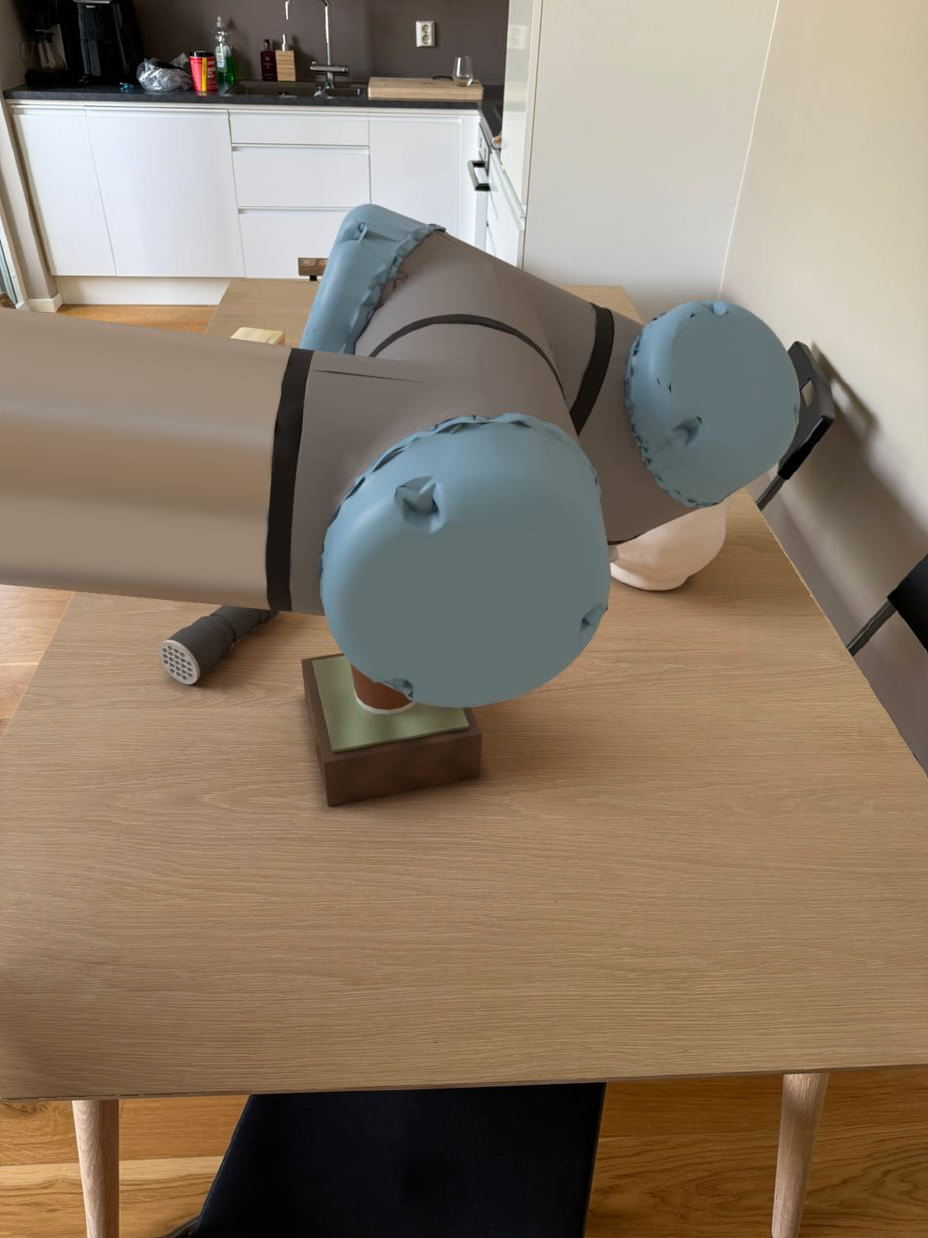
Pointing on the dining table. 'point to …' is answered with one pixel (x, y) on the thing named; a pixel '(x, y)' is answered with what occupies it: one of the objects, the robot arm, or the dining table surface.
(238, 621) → the flashlight
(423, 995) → the dining table surface
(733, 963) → the dining table surface
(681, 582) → the vase
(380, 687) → the coffee cup
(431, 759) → the stand
